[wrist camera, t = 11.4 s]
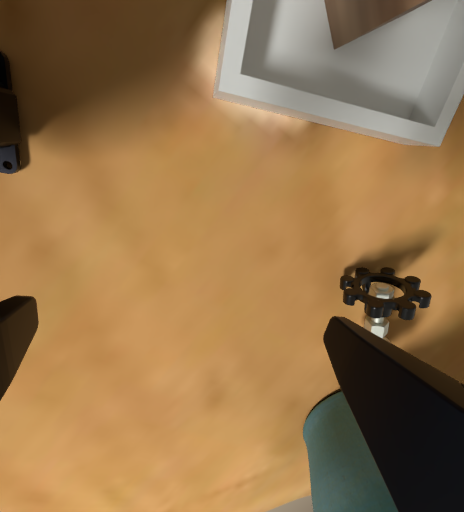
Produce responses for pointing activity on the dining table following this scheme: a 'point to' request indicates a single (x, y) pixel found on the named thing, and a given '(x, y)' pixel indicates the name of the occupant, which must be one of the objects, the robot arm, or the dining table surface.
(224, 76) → the tray
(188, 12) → the dining table surface
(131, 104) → the dining table surface
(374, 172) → the dining table surface
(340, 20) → the walnut block
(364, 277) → the valve
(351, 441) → the flower pot
